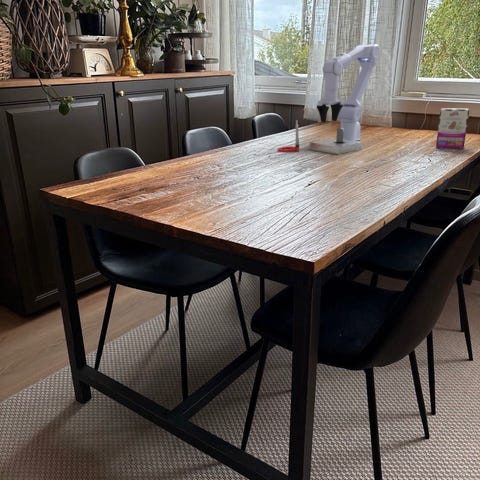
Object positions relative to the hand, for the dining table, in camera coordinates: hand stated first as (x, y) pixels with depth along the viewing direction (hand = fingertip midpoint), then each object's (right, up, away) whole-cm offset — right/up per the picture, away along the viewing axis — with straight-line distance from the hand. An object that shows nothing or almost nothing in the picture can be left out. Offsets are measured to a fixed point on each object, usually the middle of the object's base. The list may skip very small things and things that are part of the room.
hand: (328, 121), depth 209 cm
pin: (+3, -14, -7) cm, 16 cm away
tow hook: (-19, -14, -6) cm, 24 cm away
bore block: (+2, -14, -6) cm, 15 cm away
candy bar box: (+51, -14, -8) cm, 53 cm away
